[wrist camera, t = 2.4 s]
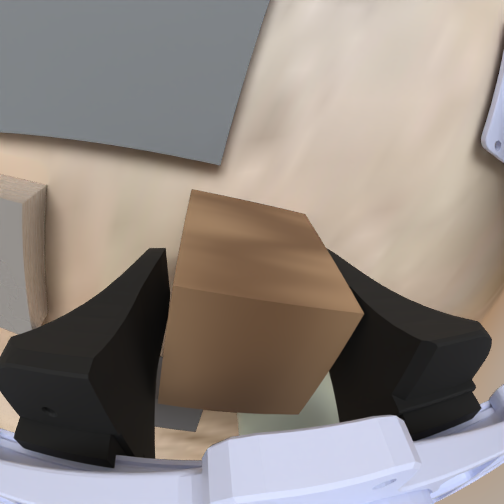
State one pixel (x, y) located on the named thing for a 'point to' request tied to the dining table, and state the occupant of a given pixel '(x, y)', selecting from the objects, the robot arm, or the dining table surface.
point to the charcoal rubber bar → (174, 412)
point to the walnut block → (252, 310)
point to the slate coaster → (127, 71)
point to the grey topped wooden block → (22, 254)
